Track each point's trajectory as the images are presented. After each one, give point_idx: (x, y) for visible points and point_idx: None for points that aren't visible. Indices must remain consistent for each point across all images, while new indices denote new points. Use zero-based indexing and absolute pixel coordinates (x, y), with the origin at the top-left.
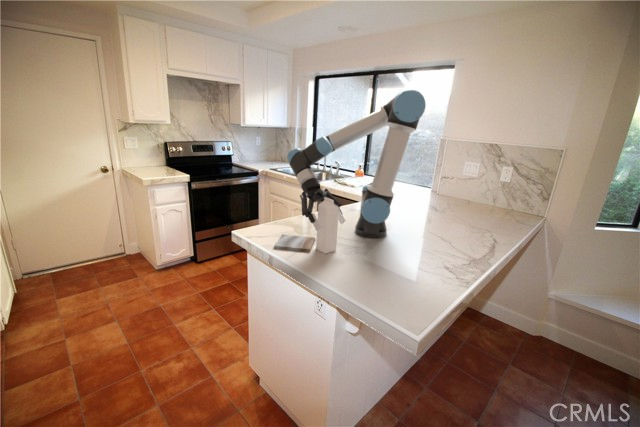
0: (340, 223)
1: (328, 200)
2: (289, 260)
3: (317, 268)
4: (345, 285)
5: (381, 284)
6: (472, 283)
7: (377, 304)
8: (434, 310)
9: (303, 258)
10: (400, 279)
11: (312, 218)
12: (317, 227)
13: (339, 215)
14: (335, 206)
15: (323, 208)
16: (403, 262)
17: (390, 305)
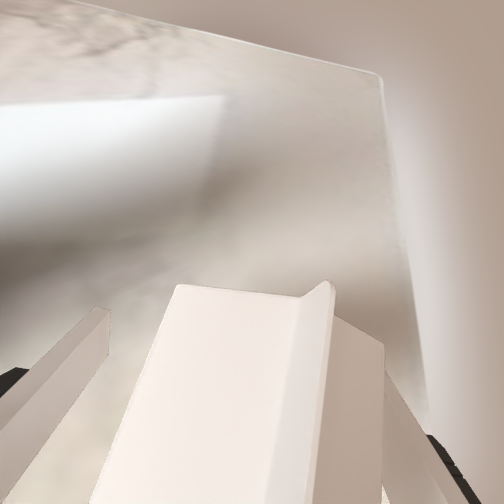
0: (104, 358)
1: (289, 499)
2: None
3: (367, 306)
4: (366, 199)
5: (296, 142)
6: (149, 20)
7: (365, 129)
8: (302, 63)
9: None
10: (240, 118)
11: (446, 467)
12: None
13: (65, 379)
14: (238, 304)
15: (375, 443)
16: (132, 130)
17: (348, 113)
